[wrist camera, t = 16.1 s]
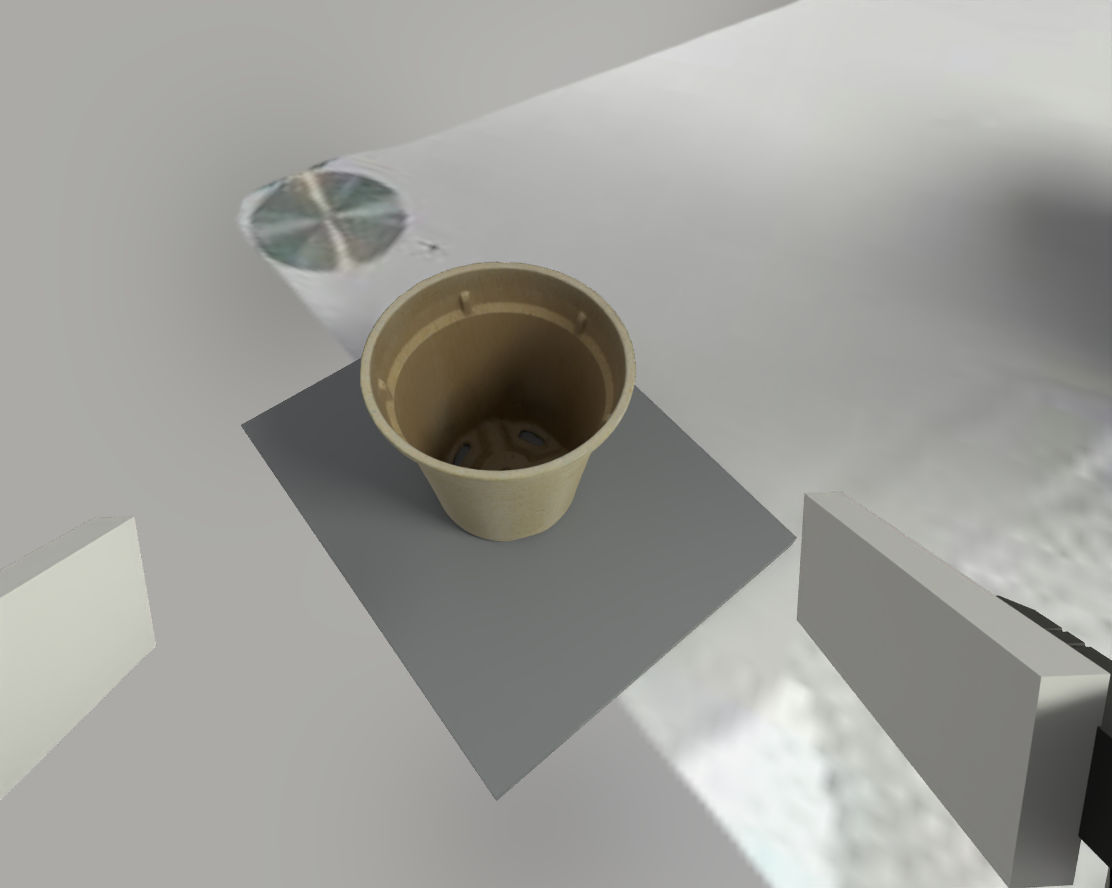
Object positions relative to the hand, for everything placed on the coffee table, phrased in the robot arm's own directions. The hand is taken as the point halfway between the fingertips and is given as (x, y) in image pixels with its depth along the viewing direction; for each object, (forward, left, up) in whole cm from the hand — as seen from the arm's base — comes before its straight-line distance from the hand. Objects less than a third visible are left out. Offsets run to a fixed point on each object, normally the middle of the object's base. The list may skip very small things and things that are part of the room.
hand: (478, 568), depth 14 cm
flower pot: (+8, -6, -15) cm, 18 cm away
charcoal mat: (+8, -6, -15) cm, 18 cm away
